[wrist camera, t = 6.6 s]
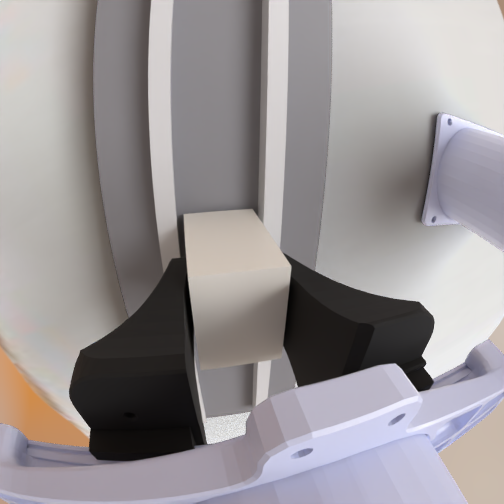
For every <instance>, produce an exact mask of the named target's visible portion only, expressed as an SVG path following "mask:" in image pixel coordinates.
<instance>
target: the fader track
mask: <svg viewBox="0 0 504 504" xmlns="http://www.w3.org/2000/svg"><path fill="white" fill-rule="evenodd" d="M331 77H332V0H98V3H97V12H96V23H95V37H94V61H93V97H94V122H95V137H96V149H97V159H98V169H99V177H100V185H101V192H102V199H103V205H104V212H105V218H106V223H107V229H108V234H109V239H110V244H111V249H112V254H113V259H114V263H115V268H116V272H117V276H118V280H119V284H120V288H121V292H122V296H123V300H124V303H125V307H126V311H127V314H128V318H129V317H131V316H132V315H133V314H134V313H135V312H136V311H137V310H138V309H139V308H140V307H141V305H142V304H143V303H144V302H145V301H146V299H147V298H148V297H149V295H150V294H151V293H152V291H153V290H154V288H155V287H156V286H157V284H158V282H159V281H160V279H161V277H162V276H163V274H164V272H165V270H166V268H167V266H168V264H169V262H170V260H171V259H172V258H183V257H186V247H185V232H184V214H189V213H201V212H214V211H227V210H242V209H253V210H254V212H255V213H256V215H257V216H258V218H259V219H260V220H261V222H262V223H263V225H264V226H265V228H266V229H267V231H268V232H269V234H270V235H271V237H272V238H273V240H274V241H275V242H276V244H277V245H278V247H279V248H280V250H281V251H282V252H283V253H285V254H286V255H288V256H290V257H291V258H293V259H295V260H296V261H298V262H300V263H301V264H303V265H305V266H306V267H308V268H310V269H312V270H313V271H315V265H316V258H317V250H318V242H319V234H320V226H321V217H322V208H323V198H324V188H325V177H326V166H327V153H328V139H329V123H330V104H331ZM194 363H195V374H196V381H197V388H198V395H199V401H200V407H201V413H202V419H203V423H207V420H206V418H210V417H218V416H225V415H232V414H239V413H245V412H251V411H252V410H253V408H254V407H255V406H257V405H258V404H260V403H261V402H263V401H264V400H266V399H267V398H269V397H270V396H272V395H275V394H278V393H281V392H284V391H286V390H289V389H292V388H294V387H295V383H296V379H295V376H294V373H293V370H292V367H291V364H290V361H289V358H288V356H287V353H286V351H285V349H284V347H283V349H282V357H281V358H280V359H274V360H268V361H263V362H257V363H251V364H244V365H237V366H230V367H223V368H215V369H207V370H201V369H200V363H199V356H198V350H197V343H196V337H195V330H194Z"/></svg>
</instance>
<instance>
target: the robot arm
mask: <svg viewBox="0 0 504 504" xmlns="http://www.w3.org/2000/svg"><path fill="white" fill-rule="evenodd" d="M447 121H448V122H447ZM422 223H423V224H424V225H426V226H434V225H450V224H461V225H463V226H464V227H466V228H468V229H469V230H471V231H472V232H474V233H476V234H477V235H479V236H480V237H482V238H483V239H485V240H486V241H488V242H489V243H491V244H492V245H494V246H495V247H497V248H498V249H500V250H501V251H503V252H504V136H503V135H502V134H499V133H497V132H495V131H492V130H490V129H487V128H485V127H482V126H480V125H477V124H474V123H472V122H469V121H466V120H464V119H461V118H458V117H455V116H452V115H449V114H446V113H439V114H438V116H437V124H436V134H435V143H434V151H433V159H432V165H431V172H430V178H429V184H428V189H427V195H426V200H425V205H424V210H423V214H422ZM282 253H283V252H282ZM283 254H284V256H285V257H286V259H287V260H288V262H289V263H290V265H291V276H290V286H289V296H288V305H287V314H286V323H285V332H284V340H283V347H284V349H285V351H286V353H287V356H288V358H289V361H290V364H291V367H292V370H293V373H294V376H295V379H296V382H297V385H298V387H297V388H292V389H289V390H286V391H284V392H281V393H278V394H275V395H272V396H270V397H269V398H267V399H266V400H264V401H263V402H261V403H260V404H258V405H257V406H255V407H254V408H253V410H252V411H251V413H250V415H249V417H248V419H247V421H246V434H245V435H242V436H239V437H236V438H232V439H229V440H226V441H222V442H219V443H215V444H207V441H206V436H205V430H204V425H203V419H202V413H201V407H200V401H199V395H198V388H197V381H196V374H195V363H194V322H193V315H192V307H191V299H190V291H189V283H188V273H187V261H186V257H183V258H172V259H171V260H170V262H169V264H168V266H167V268H166V270H165V272H164V274H163V276H162V277H161V279H160V281H159V282H158V284H157V286H156V287H155V288H154V290H153V291H152V293H151V294H150V295H149V297H148V298H147V299H146V301H145V302H144V303H143V304H142V305H141V307H140V308H139V309H138V310H137V311H136V312H135V313H134V314H133V315H132V316H131V317H129V318H128V319H127V320H126V321H125V322H124V323H123V324H122V325H120V326H119V327H118V328H116V329H115V330H114V331H112V332H111V333H109V334H108V335H107V336H105V337H103V338H102V339H100V340H99V341H97V342H95V343H93V344H91V345H90V346H88V347H86V348H84V349H82V350H81V351H80V354H79V356H78V359H77V361H76V364H75V367H74V371H73V375H72V380H71V384H70V389H69V395H70V399H71V401H72V403H73V405H74V407H75V408H76V410H77V411H78V412H79V414H80V415H81V416H82V418H83V419H84V420H85V422H86V423H87V424H88V426H89V427H90V428H91V431H90V442H89V447H79V446H68V445H59V444H52V443H45V442H39V441H33V440H28V439H27V438H26V437H25V435H24V434H23V433H22V432H21V431H20V430H18V429H17V428H15V427H13V426H11V425H7V424H2V423H0V498H1V499H3V500H4V501H6V502H8V503H9V504H468V503H467V501H466V499H465V498H464V496H463V494H462V493H461V491H460V489H459V488H458V486H457V484H456V482H455V481H454V479H453V477H452V476H451V474H450V473H449V471H448V469H447V468H446V466H445V465H444V463H443V461H442V460H441V458H440V457H439V455H438V453H439V452H441V451H442V450H444V449H445V448H446V447H448V446H449V445H451V444H452V443H453V442H455V441H456V440H457V439H459V438H460V437H461V436H463V435H464V434H465V433H466V432H468V431H469V430H470V429H472V428H473V427H474V426H475V425H477V423H479V422H480V421H482V420H483V419H484V418H485V417H486V416H488V415H489V414H490V413H491V412H492V411H493V410H494V409H495V408H496V407H497V405H498V404H499V403H500V402H501V401H502V400H503V398H504V354H503V353H502V352H501V351H500V350H499V349H498V348H497V347H496V346H495V345H494V344H493V343H492V342H491V341H490V340H486V341H484V342H482V343H481V344H479V345H477V346H476V347H474V348H473V349H472V350H471V352H470V353H469V354H468V356H467V358H466V360H465V362H464V363H463V364H461V365H459V366H457V367H455V368H453V369H452V370H450V371H448V372H446V373H444V374H442V375H440V376H438V377H436V378H434V379H432V378H431V377H430V375H429V374H428V373H427V371H426V370H425V369H424V368H423V367H425V365H426V361H425V360H424V359H423V357H422V354H423V352H424V350H425V348H426V346H427V344H428V342H429V340H430V338H431V335H432V333H433V329H434V318H433V316H432V315H431V314H430V313H429V312H428V311H427V310H426V308H425V307H424V306H423V305H422V304H421V303H420V302H416V301H407V300H399V299H393V298H388V297H383V296H378V295H374V294H370V293H367V292H363V291H360V290H357V289H354V288H351V287H348V286H346V285H343V284H341V283H338V282H336V281H333V280H331V279H329V278H327V277H325V276H323V275H321V274H319V273H317V272H315V271H313V270H312V269H310V268H308V267H306V266H305V265H303V264H301V263H300V262H298V261H296V260H295V259H293V258H291V257H290V256H288V255H286V254H285V253H283Z"/></svg>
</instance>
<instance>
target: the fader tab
mask: <svg viewBox="0 0 504 504" xmlns="http://www.w3.org/2000/svg"><path fill="white" fill-rule="evenodd" d="M184 232H185V247H186V261H187V273H188V283H189V291H190V299H191V307H192V315H193V322H194V330H195V337H196V343H197V350H198V356H199V363H200V369H201V370H207V369H215V368H223V367H230V366H237V365H244V364H251V363H257V362H263V361H268V360H274V359H280V358H281V357H282V349H283V340H284V332H285V323H286V314H287V305H288V296H289V286H290V276H291V265H290V263H289V262H288V260H287V259H286V257H285V256H284V254H283V253H282V251H281V250H280V248H279V247H278V245H277V244H276V242H275V241H274V240H273V238H272V237H271V235H270V234H269V232H268V231H267V229H266V228H265V226H264V225H263V223H262V222H261V220H260V219H259V218H258V216H257V215H256V213H255V212H254V210H253V209H242V210H227V211H214V212H201V213H189V214H184Z"/></svg>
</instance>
